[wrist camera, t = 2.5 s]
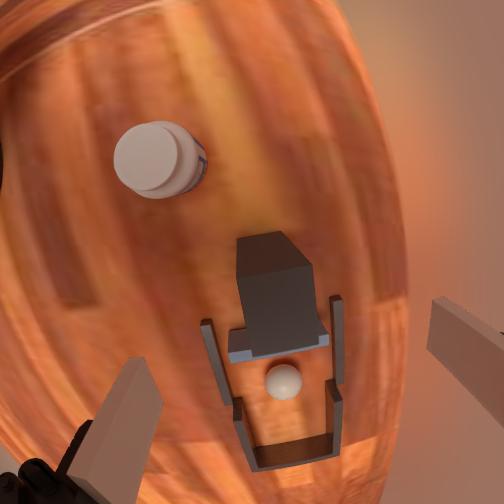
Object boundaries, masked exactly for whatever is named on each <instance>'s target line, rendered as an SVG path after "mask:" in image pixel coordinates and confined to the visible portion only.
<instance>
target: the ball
mask: <svg viewBox="0 0 504 504" xmlns="http://www.w3.org/2000/svg"><path fill="white" fill-rule="evenodd" d="M264 384H265V389H266V391H267V392H268V394H269V395H270V396H271V397H273V398H275V399H277V400H288V399H291V398H293V397H295V396H296V395H297V394H298V393H299V391H300V390H301V387H302V376H301V374H300V372H299V371H298V370H297V369H296V368H295V367H293V366H291V365H287V364H281V365H277V366H275V367H273V368H272V369H270V370H269V372H268V373H267V374H266V377H265V381H264Z"/></svg>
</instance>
